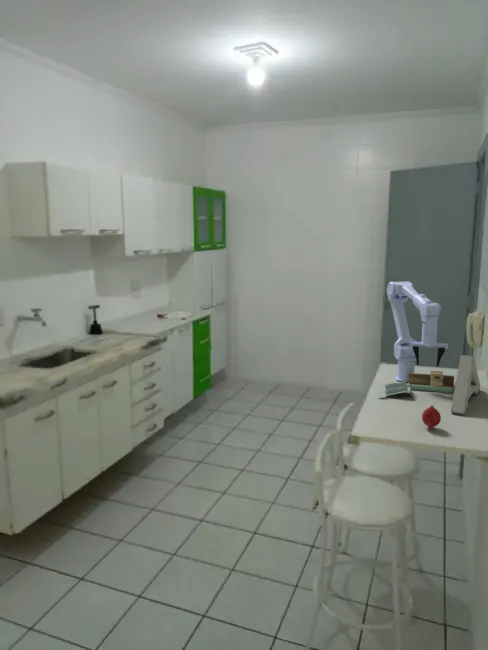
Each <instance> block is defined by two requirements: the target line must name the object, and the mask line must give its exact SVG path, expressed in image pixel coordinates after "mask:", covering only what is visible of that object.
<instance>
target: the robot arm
mask: <svg viewBox="0 0 488 650" xmlns="http://www.w3.org/2000/svg"><path fill="white" fill-rule="evenodd" d="M386 294H387V298H388V302H389V303H390V306H391V310H392V314H393V320H394V324H395V329H396V334H397V340H396V341H395V342H394V344H393V355H394V358H395V359H396V360H397V370H396V371H397V372H396V373H397V374H396V375H395V381H396V382H397V381H398V382H403V381H406V383H407V382H408V378H409V373H415V367H416V366H419V365H420V363H419V362H420V358H419V357H420V355H421V351H420V348H422V349H437V355H436V356H437V357H436V367H439V365H440V362H441V359H442V358H443V356H444V354H445V352H446V350H448V349H449V344H448V343H444V342H442V343H441V342H437V338H438V337H437V335H438V321H439V319H438V318H439V317H440V316H441V314H442V307H441V305H440V303H438V302H433V301H432V300H431V299H429V298H428V297H427V296H426V294H424V293H418V291H417V290H416V289H415V288H414V284H413V283H412V282H411V281H409V280H407V281H389V283H388V284H387V286H386ZM408 299H410V300H411V301H412V305H413V306H414V307H415V308H416V309H417V310H418V311H419V315H420V317H421V319H420V320H421V322H422V327H421V341H417V340H416V339H414V338H412V337H411V333H410V329H409V325H408V321H407V320H408V319H407V314H406V310H405V306H404V303H406V302H408Z"/></svg>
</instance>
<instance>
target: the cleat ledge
mask: <svg viewBox="0 0 488 650" xmlns="http://www.w3.org/2000/svg"><path fill="white" fill-rule="evenodd" d="M411 387H412V391H419V392H420V391H423V392H424V391H425V392H435V393H449V394H452V393H453V394H454V388H451V387H447V386H443V387H437V386H430V385H419V384H411Z"/></svg>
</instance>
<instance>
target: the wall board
mask: <svg viewBox="0 0 488 650" xmlns="http://www.w3.org/2000/svg"><path fill="white" fill-rule="evenodd" d="M430 377H431V373H415V372H414V373H409V378H408V383H409V384H419V385H430ZM454 382H455V375H447V374H443V386H447V387H451V388H453V389H455V384H454Z"/></svg>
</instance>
